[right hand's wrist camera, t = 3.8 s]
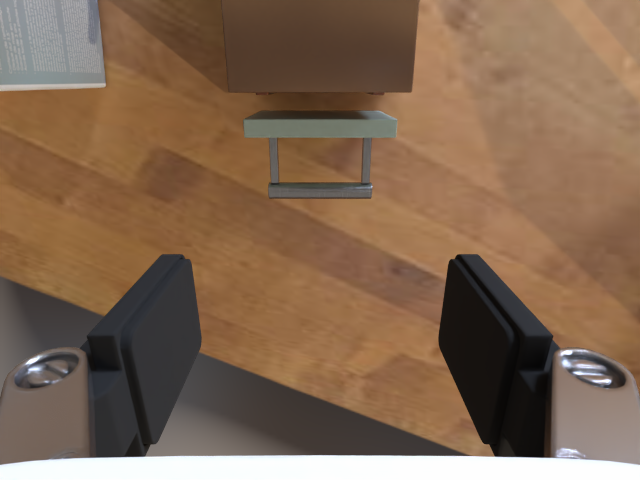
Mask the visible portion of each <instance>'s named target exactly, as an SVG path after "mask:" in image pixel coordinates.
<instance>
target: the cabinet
mask: <svg viewBox="0 0 640 480" xmlns="http://www.w3.org/2000/svg"><path fill="white" fill-rule="evenodd" d="M419 1H420V0H221V4H222V17H223V29H224V41H225V53H226V65H227V78H228V90H229V92H412V85H413V73H414V61H415V49H416V37H417V25H418V13H419Z"/></svg>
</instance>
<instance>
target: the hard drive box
mask: <svg viewBox="0 0 640 480" xmlns="http://www.w3.org/2000/svg"><path fill="white" fill-rule="evenodd" d="M105 86H106V81H105V70H104V60H103V49H102V40H101V29H100V19H99V10H98V2H97V0H0V91H18V90H48V89H82V88H102V87H105Z"/></svg>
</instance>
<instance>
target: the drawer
mask: <svg viewBox="0 0 640 480" xmlns="http://www.w3.org/2000/svg"><path fill="white" fill-rule="evenodd" d="M273 93H277V92H256V95H269V94H273ZM363 93H367V94H372V95H384V94H385V92H363ZM243 124H244V137H245V138H269V149H270V170H271V182H270V183H269V186H268V194H269V198H270V199H371V197H372V183H369V180H370V160H371V139H372V138H395V137H396V131H397V119H395V118H393V117H391V116H389V115H387V114H385V113H383V112H381V111H260V112H258V113H256V114H254V115H252V116H249V117H247V118H245V119H243ZM278 138H363V147H362V172H361V182H279V161H278Z"/></svg>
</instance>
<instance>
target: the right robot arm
mask: <svg viewBox="0 0 640 480" xmlns="http://www.w3.org/2000/svg"><path fill="white" fill-rule="evenodd" d="M552 338H553V335H552V334H551V333H550V332H549V331H548V330H547V329H546V328H545V326H544V325H543V324H542V323H541V322H540V321H539V320H538V319H537V318H536V317H535V316H534V314H533V313H532V312H531V311H530V310H529V309H528V308H527V307H526V306H525V305H524V304H523V303H522V301H521V300H520V299H519V298H518V297H517V296H516V295H515V294H514V293H513V292H512V291H511V290H510V288H509V287H508V286H507V285H506V284H505V283H504V282H503V281H502V280H501V279H500V278H499V277H498V275H497V274H496V273H495V272H494V271H493V270H492V269H491V268H490V267H489V266H488V265H487V264H486V262H485V261H484V260H483V259H482V258H481V257H480V256H479V255H478V254H458V255H457V256H456V258H455V259H451V260H450V261H449V264H448V271H447V278H446V286H445V293H444V300H443V308H442V315H441V322H440V330H439V347H440V350H441V352H442V354H443V357H444V359H445V361H446V363H447V365H448V368H449V370H450V372H451V374H452V376H453V379H454V381H455V383H456V385H457V388H458V390H459V392H460V394H461V396H462V399H463V401H464V403H465V405H466V407H467V410H468V412H469V414H470V416H471V419H472V421H473V423H474V425H475V427H476V430H477V432H478V434H479V436H480V438H481V440H482V442H483V443H484V444H489V445H490V447H491V449H492V451H493V453H494V455H495V457H476V456H323V455H322V456H321V455H316V456H164V457H145V455H146V453H147V451H148V449H149V447H150V445H151V444H156V443H157V442H158V440H159V438H160V436H161V434H162V432H163V430H164V427H165V425H166V423H167V421H168V418H169V416H170V414H171V412H172V410H173V407H174V405H175V403H176V401H177V399H178V396H179V394H180V392H181V390H182V388H183V385H184V383H185V381H186V379H187V376H188V374H189V372H190V370H191V368H192V365H193V363H194V361H195V359H196V356H197V354H198V352H199V350H200V347H201V330H200V322H199V315H198V308H197V300H196V293H195V286H194V278H193V271H192V264H191V261H190V260H189V259H185V258H184V256H183V255H182V254H162V255H161V256H160V257H159V258H158V259H157V260H156V261H155V262H154V264H153V265H152V266H151V267H150V268H149V269H148V270H147V271H146V272H145V273H144V274H143V275H142V277H141V278H140V279H139V280H138V281H137V282H136V283H135V284H134V285H133V286H132V287H131V288H130V290H129V291H128V292H127V293H126V294H125V295H124V296H123V297H122V298H121V299H120V300H119V301H118V303H117V304H116V305H115V306H114V307H113V308H112V309H111V310H110V311H109V312H108V313H107V314H106V316H105V317H104V318H103V319H102V320H101V321H100V322H99V323H98V324H97V325H96V326H95V328H94V329H93V330H92V331H91V332H90V333H89V334H88V335H87V339H88V340H87V341H86V342H85V343H84V344H83V345H82V347H81V348H80V349H78V348H73V347H61V348H56V349H51V350H47V351H44V352H42V353H39V354H36V355H34V356H32V357H30V358H28V359H26V360H24V361H23V362H21V363H20V364H18V365H17V366H16V367H15V368H14V369H13V370H12V371H11V372H10V373H9V374H8V375H7V377H6V379H5V381H4V385H3V388H2V392H1V396H0V480H640V396H639V392H638V388H637V385H636V381H635V379H634V377H633V375H632V374H631V373H630V372H629V371H628V370H627V369H626V368H625V367H624V366H623V365H622V364H620V363H619V362H617V361H616V360H614V359H612V358H610V357H608V356H606V355H604V354H601V353H598V352H596V351H593V350H589V349H584V348H579V347H567V348H562V349H560V348H559V347H558V345H557V344H556V343H555V342H554V341H553V340H552Z"/></svg>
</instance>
